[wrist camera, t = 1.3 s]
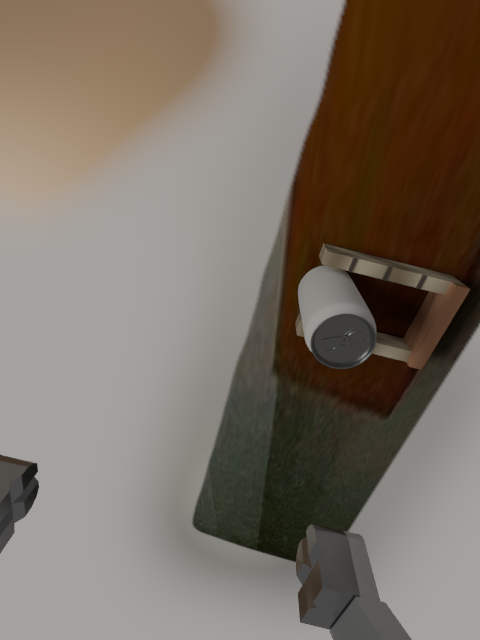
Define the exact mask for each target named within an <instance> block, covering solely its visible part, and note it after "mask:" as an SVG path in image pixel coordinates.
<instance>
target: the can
mask: <svg viewBox="0 0 480 640" xmlns="http://www.w3.org/2000/svg"><path fill="white" fill-rule="evenodd" d="M298 299H299V306H300V313H301V319H302V325H303V331H304V337H305V341H306V344H307V346H308V348H309V350H310V351H311V352H312V353H313V355H314V356H315V358H316V359H317V360H318V361H319V362H320V363H322V364H324V365H325V366H328V367H331V368H336V369H346V368H351V367H354V366H357V365H359V364H361V363H362V362H364V361H365V360H366V359H367V358H369V356H370V355H371V354H372V352H373V351H374V349H375V346H376V324H375V320H374V318H373V316H372V314H371V312H370V310H369V309H368V307H367V305H366V303H365V301H364V300H363V298H362V296H361V294H360V293H359V291H358V289H357V288H356V286H355V284H354V282H353V281H352V279H351V278H350V276H349V275H348V273H347V272H346V271H344V270H342V269H338V268H334V267H330V266H326V265H324V266H319V267H316V268H314V269H312V270H311V271H309V272H308V273H307V274H306V275H305V276H304V277H303V278H302V280H301V282H300V284H299V287H298Z"/></svg>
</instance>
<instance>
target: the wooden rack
mask: <svg viewBox="0 0 480 640" xmlns="http://www.w3.org/2000/svg"><path fill="white" fill-rule="evenodd" d="M319 257H320V260H321V262H322V265H326V266H330V267H334V268H338V269H342V270H346V271H348V272H354V273H358V274H362V275H366V276H370V277H374V278H378V279H382V280H384V281H386V280H387V281H391V282H395V283H399V284H403V285H407V286H411V287H415V288H417V289H423V290H427V291H429V292H428V294H427V296H426V298H425V300H424V302H423V303H422V305H421V307H420V309H419V311H418V313H417V314H416V316H415V318H414V320H413V322H412V324H411V325H410V327H409V329H408V331H407V333H406V335H405V336H404V338H399V337H395V336H391V335H387V334H383V333H379V332H376V346H375V349H374V351H373V352H372V354H376V355H380V356H385V357H389V358H393V359H397V360H401V361H405V362H407V364H408V365H409V367H413V368H417V369H421V370H422V368H423V366H424V365H425V363H426V362H427V360H428V358H429V357H430V355H431V353H432V352H433V350H434V348H435V347H436V345H437V343H438V342H439V340H440V339H441V337H442V335H443V334H444V332H445V330H446V329H447V327H448V325H449V324H450V322H451V320H452V319H453V317H454V316H455V314H456V312H457V311H458V309H459V307H460V306H461V304H462V302H463V301H464V299H465V298H466V296H467V294H468V293H469V291H470V288H468V287H467V286H466V285H464V284H463V283H462V282H460V281H459V280H458V279H456V278H455V277H454V276H452V275H448V274H444V273H440V272H436V271H432V270H428V269H424V268H420V267H416V266H412V265H408V264H404V263H400V262H396V261H392V260H388V259H384V258H380V257H376V256H372V255H368V254H364V253H360V252H356V251H352V250H348V249H344V248H340V247H336V246H332V245H328V244H323V247H322V249H321V252H320V255H319ZM296 331H297V335H298V336H302V337H304V331H303V325H302V319H301V313H299V315H298V318H297V321H296Z"/></svg>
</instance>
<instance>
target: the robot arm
mask: <svg viewBox="0 0 480 640" xmlns="http://www.w3.org/2000/svg"><path fill="white" fill-rule="evenodd" d="M37 472H38V469H37V463H32V462H28V461H24V460H19V459H15V458H11V457H7V456H2V455H0V553H1V551H2V550H3V548H4V547H5V545H6V544H7V542H8V541H9V540H10V538H11V537H12V535H13V533H14V523H15V522H17V521H19V520H20V519H22V518H23V517H25V516H26V514H27V513H28V511H29V510H30V508H31V507H32V505H33V503H34V500H35V498H36V496H37V492H38V488H39V485H38V481H37V479H36V478H35V477H34V476H35V474H36V473H37ZM306 534H307V537H306V538H304V539H302V540H301V542H300V544H299V546H298V550H297V556H296V572H297V577H298V578H299V580H300V582H301V583H302V585H303V586H302V587H301V589H300V591H299V593H298V599H299V612H300V622H301V623H305V624H310V625H314V626H318V627H322V628H326V629H330V633H331V635H332V638H333V640H411V638H410V637H409V635H408V634H407V633H406V631H405V630H404V628H403V627H402V626H401V624H400V623H399V621H398V620H397V618H396V617H395V616H394V614H393V613H392V611H391V610H390V609H389V607H388V606H387V604H386V603H384V602H380V599H379V595H378V591H377V588H376V583H375V580H374V576H373V572H372V568H371V564H370V561H369V557H368V553H367V549H366V545H365V542H364V539H363V538H362V536H360V535H359V534H354V533H349V532H344V531H342V530H337V529H332V528H328V527H323V526H318V525H313V524H312V525H310V526H309V527H308V528H307V530H306Z"/></svg>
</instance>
